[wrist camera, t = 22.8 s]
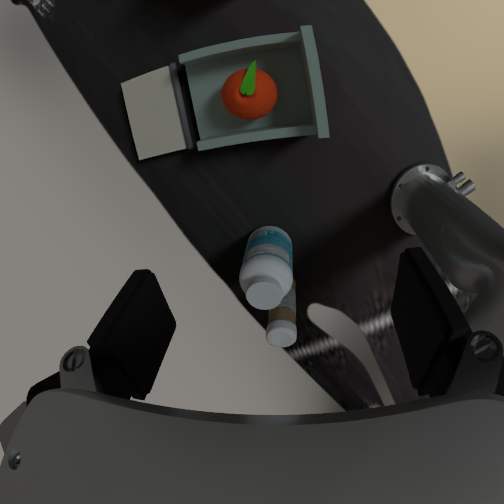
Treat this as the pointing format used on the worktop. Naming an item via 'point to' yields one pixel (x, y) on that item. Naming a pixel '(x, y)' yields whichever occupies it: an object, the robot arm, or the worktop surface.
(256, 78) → the clementine
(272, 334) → the sprinkles bottle
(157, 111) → the panel
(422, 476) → the robot arm
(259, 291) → the pill bottle
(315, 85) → the grey-green open bin
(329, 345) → the worktop surface
